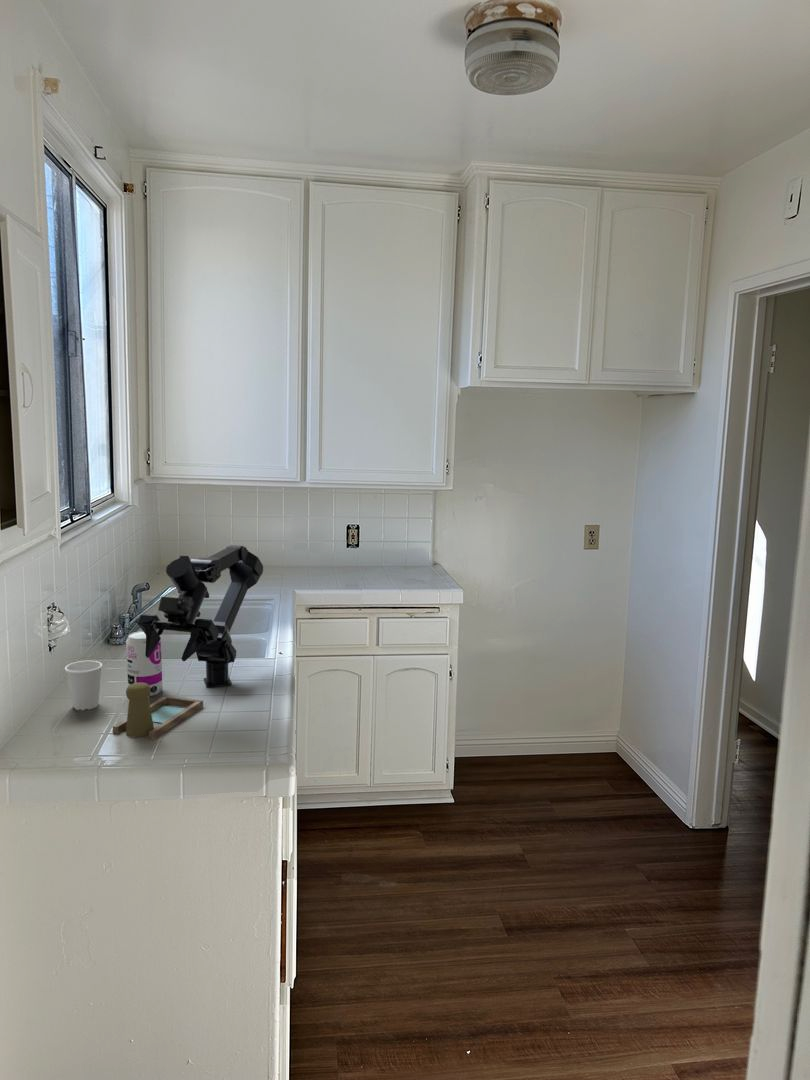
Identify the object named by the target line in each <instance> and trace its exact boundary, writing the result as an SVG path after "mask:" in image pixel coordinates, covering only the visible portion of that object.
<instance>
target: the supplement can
mask: <svg viewBox="0 0 810 1080" xmlns="http://www.w3.org/2000/svg"><path fill="white" fill-rule="evenodd" d="M125 647H126V650H125V651H126V668H127V670H126V671H127V687H128V686H129V685H131V684H133V683H139V682H142V683H146V684H148V685H149V686H150V689H151V694H150V696H149V697H152V696H156V695H158V694H160V692H161V691H162V690H163V689H164V688H163V667H162V666H163V663H162V638H161V639H160V641H159V642H158V644H157V646H156V647H155V649H154V651H153V652H152V654H151V655H150V657H149V658H147V657H146V656H145V651H146V634H145V633H144V632H143V630H141V631H135V632H131V633H129V634H128V637H127V639H126V641H125Z"/></svg>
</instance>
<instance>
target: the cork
mask: <svg viewBox="0 0 810 1080" xmlns="http://www.w3.org/2000/svg"><path fill="white" fill-rule="evenodd" d="M150 694H151V689H150V686H149V685H148V684H146V683H142V682H139V683H133V684H131V685H129V686H128V685H127V688H126V689H125V695H126V698H127V700H128V707H127V708H128V709H127V715H126V718H127V726H126V729H125V735H127V737H131V738H141V737H147V736H149V731H151V730H152V729H154V728H155V727H154V722H153V720H152V715H151V709H150V704H151V703H150V697H151V696H150Z"/></svg>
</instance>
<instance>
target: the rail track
mask: <svg viewBox="0 0 810 1080" xmlns="http://www.w3.org/2000/svg"><path fill="white" fill-rule="evenodd" d="M149 704H150V709H151V715H152V720H153V723H156V724H159V725H157V726H156V727H154V729H152V730H151V731H149V735H148V739H152V740H155V739H156V738H158V737H159V736H161V735H162V734H164V733H165V732H167V731H168V730H170V729H171V728H173V727H174V726H176V725H177V724H179V723H180V722H182V721H183V720H185V719H186V718H188V717H190V716H191V715H192V714H194V713H196V712H197V711H199V710H200V709H201V708H203V707H204V700H202V699H195V698H194V699H193V698H187V697H178V696H172V695H164V696H162V697H161V698H159V699H156V700H155V701H154V702H152V703H149ZM168 705H174V706H182V707H185V708H182V707H180V708H179V707H174V706H168ZM126 726H127V717H125V719H123V720H121V721H119V722H118V723H116V724H114V725H113V726H112V733H113V734H119V733H121V732H122V731H124V730H126Z"/></svg>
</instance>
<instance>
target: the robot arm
mask: <svg viewBox="0 0 810 1080" xmlns="http://www.w3.org/2000/svg"><path fill="white" fill-rule="evenodd" d="M226 569H228V570H229V572H228V573H229V577H230V580H231V581H230V584H229V585H228V588H227V591H226V593H225V594H224V597H223V599H222V602H221V603H220V606H219V608H218V609H217V610H218V611H217V612H216V614H215V617H214V619H213V620H212V619H209V618H201V612H200V609H201V606H202V604H203V602H204V600H205V599H209V598H210V593H209V591H208V587H207V586H206V585H205V583H209V584H213V583H216V582H217V581H218V580H219V579H220V578H221V577H222V572H223V571H225V570H226ZM263 572H264V565H263V563H262V561H261V560H260V558H259V557H258V556H257V555H255V554H253V553H252V552H250V551H249V550H248V549H247V547H246V546H243V545H235V544H234V545H232V544H230V545H228V546H226V547H225V548H224V549H222V550H220V551H218V552H216V553H214V554H212V555H210V556H207V557H194V558H191V559H190V557H189V555H182V554H181V555H179V557H178V558H177V559H175V560H172V561H171V562H170V563H169V564H167V566H166V569H165V573H166V575H167V576H168V578H169V580H170V582H171V583H172V584H173V586H174V587H175V589H176V590H177V591H179V595H178V597H171V596H170V597H169V596H168V597H167V596H161V597H160V600H159V605H158V609H157V610H158V611H159V612H162V613H164V614H163V616H164V618H165V619H167V621H165V620H164V621H163V620H161V619H160V618H159V617H158V615H157V614H147V613H142V614H140V615H139V616H138V619H137V621H136V624H137V625H138V626H139V628H140V629H141V631H143V632H144V633H145V634H146V651H145V656H146V657H147V658H149V657H150V655H151V654H152V652H153V651H154V649H155V647H156V646H157V644H158V642H159V641H160V639H161V640H162V637H161V636H162V635H163V633H164V631H173V632H181V633H182V632H183V633H190V636H189V639H188V641H187V644H186V646H185V647H184V650H183V653H182V656H181V660H182V662H186V661H187V660H188V659H189V658H190V657H192V656H193V655H194V654H195V653H196V658H197V661H198V662H205V674H206V675H205V676H206V677H204V678H203V682H204V685H205V687H206V688H215V687H216V686H217V687H223V686H224V687H225V686H232V685H233V682H232V681H231V678H230V676H229V672H230V671H229V664H230V663H231V664H232V663H235V660H236V658H237V650H236V648H235V647H234V645H233V640H232V636H231V629H232V627H233V625H234V623H235V620H236V617H237V616H238V612H239V611H240V608H241V607H242V603H243V602H244V599H245V597H246V594H247V593H248V590H249V589H251V588H252V587H253V586H256V585H257V583H258V582H259V580H260V578H261V576H262V575H263ZM196 618H197V619H196Z"/></svg>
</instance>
